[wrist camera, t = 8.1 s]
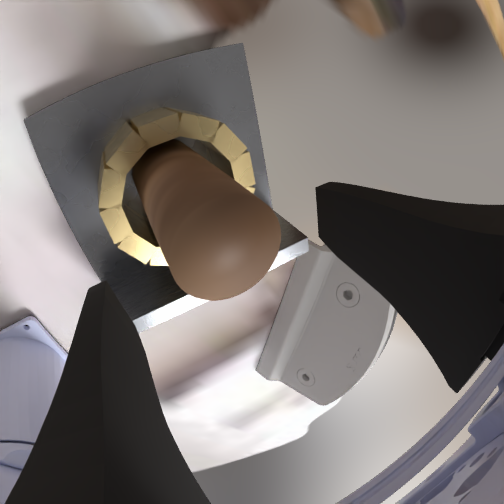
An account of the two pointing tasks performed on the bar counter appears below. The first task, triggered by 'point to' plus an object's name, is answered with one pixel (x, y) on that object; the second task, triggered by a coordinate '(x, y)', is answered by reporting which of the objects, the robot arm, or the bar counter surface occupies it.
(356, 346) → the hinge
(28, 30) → the bar counter surface
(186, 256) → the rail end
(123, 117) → the cup bracket
